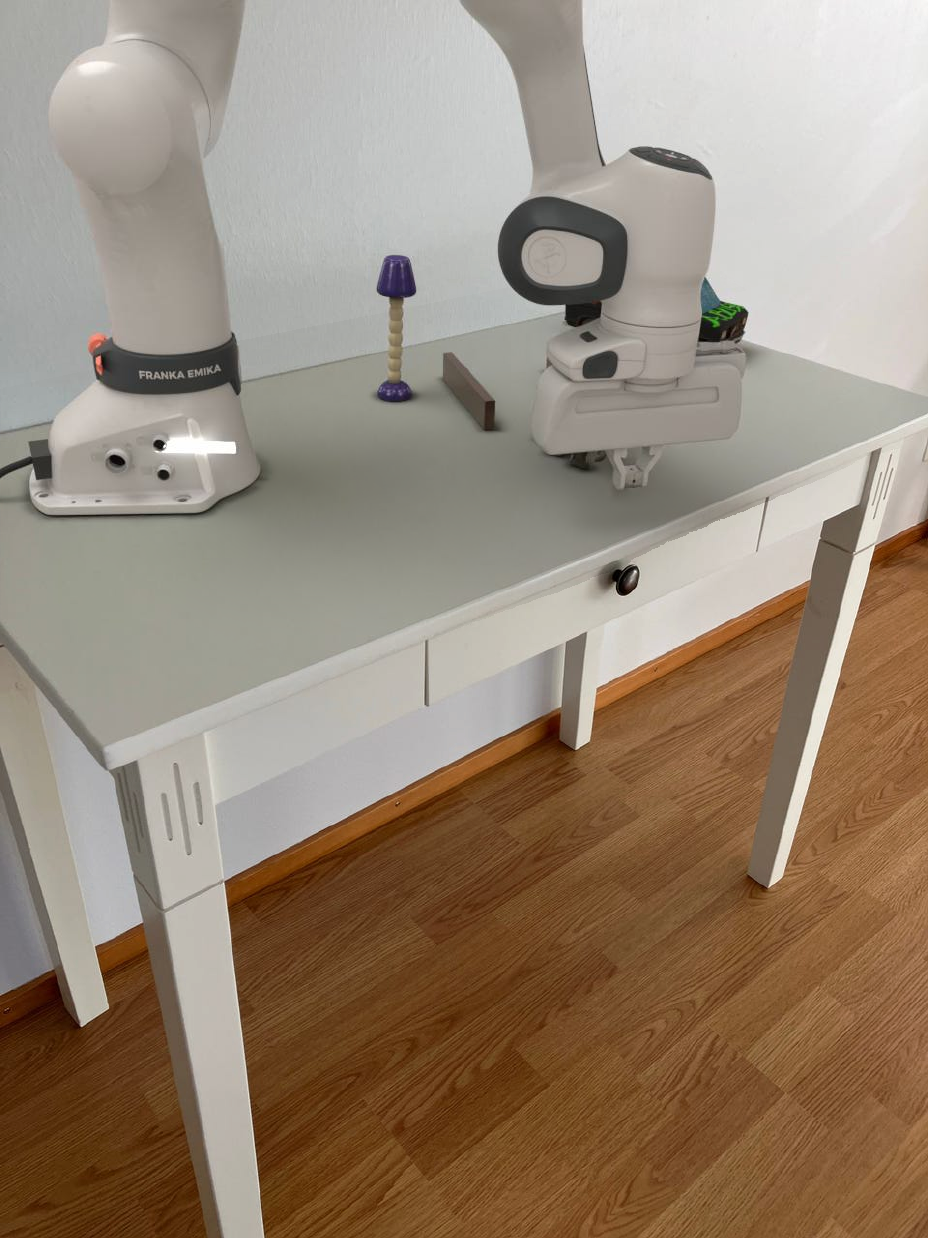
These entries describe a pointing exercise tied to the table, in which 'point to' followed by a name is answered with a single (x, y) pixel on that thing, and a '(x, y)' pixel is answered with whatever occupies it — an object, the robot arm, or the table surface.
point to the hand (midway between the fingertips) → (629, 485)
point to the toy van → (715, 321)
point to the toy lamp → (395, 321)
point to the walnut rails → (470, 390)
